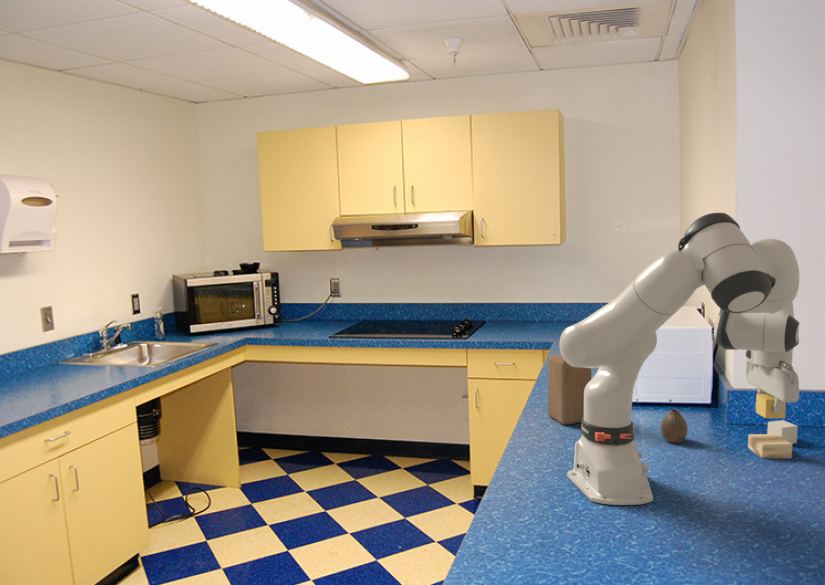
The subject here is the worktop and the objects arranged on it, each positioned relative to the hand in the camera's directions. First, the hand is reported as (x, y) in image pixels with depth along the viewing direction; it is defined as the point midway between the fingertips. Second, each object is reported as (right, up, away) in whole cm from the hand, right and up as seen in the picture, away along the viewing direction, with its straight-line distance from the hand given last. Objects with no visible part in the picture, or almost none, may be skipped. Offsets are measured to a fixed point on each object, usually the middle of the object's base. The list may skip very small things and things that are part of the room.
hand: (770, 409), depth 167 cm
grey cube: (+8, -11, +9) cm, 17 cm away
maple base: (+1, -12, +1) cm, 12 cm away
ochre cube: (0, -2, 0) cm, 2 cm away
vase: (-20, -11, +12) cm, 26 cm away
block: (-45, -9, +32) cm, 56 cm away
